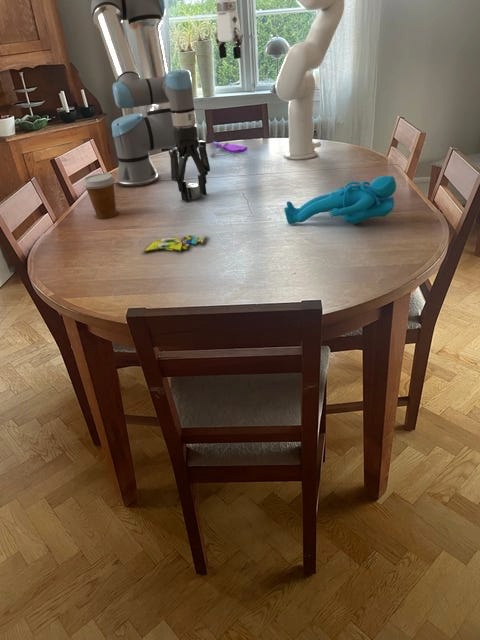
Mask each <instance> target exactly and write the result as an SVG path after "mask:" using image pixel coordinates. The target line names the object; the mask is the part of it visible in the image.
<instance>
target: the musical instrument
mask: <svg viewBox="0 0 480 640" xmlns="http://www.w3.org/2000/svg"><path fill="white" fill-rule="evenodd" d="M211 143H212V145H214V146H217V147H219V148H217V149H216V150H214V151H213V152H212V153H211V156H210V157H225V156H228V155H232V154H234V153H235V154H236V153H244V152H246V151H247V150H248V146H244V145H239V144H233V143H229V142H226V143H224V144H221V143H220V142H218V141H212V142H211ZM221 149H224V150H226V151H227V152H229V153H226V154H220V155H219V154H218V155H214V154H215V153H216V152H217V151H219V150H221Z"/></svg>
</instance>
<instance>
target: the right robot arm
mask: <svg viewBox="0 0 480 640" xmlns="http://www.w3.org/2000/svg"><path fill="white" fill-rule="evenodd" d="M236 1H237V0H215V2H216V4H215V5H216V33H215V34H214V38H215V41H216V44H217V48H218V54H219V56H218V57H219V59H225V58H227V57H228V56H227V46H226V43H232V45H233V47H232V53H233V59H234V60H236V59H237V60H238V59H241V58H242V54H241V53H242V52H241V47H242V42H243V38H244V34H243V32H242V31H241V23H240V18H239V14H238V11H237V2H236ZM295 2H296V3H297V4H298V5H299V6H300V7H301V8H302V9H304V10H305V11H319V12H318V14H317V15H316V17H315V19H314V20H313V22H312V24H311V26H310V28H309V31H308V33H307V35H306V38H305V39H304V40H303V41H299V42H296V43H295V44H293V45H292V46H291V47H290V48H289V49H288V51H287V53H286V55H285V58H284V60H283V62H282V65H281V68H280V71H279V74H278V76H277V79H276V83H275V93H276V95H277V97H278V98H279V99H280V100H281V101H284V102H288V108H287V109H288V110H287V114H288V116H287V118H288V119H287V120H288V151H286V152H285V155H284V156H285V158H286V159H289V160H307V159H308V160H309V159H311V158H314V157H316V156H317V151H316V148H320V147H321V146H322V143H321V142H320V141H317V142H314V141H313V134H314V133H313V128H314V127H313V125H314V124H313V120H314V117H313V115H314V111H313V110H314V98H315V97H314V96H315V89H316V79H315V76H314V75H313V73H312V72H311V71H312V70H315V69H318V68H319V67H320V66H321V65H322V63H323V60H324V59H325V57H326V55H327V52H328V49H329V48H330V46H331V42H332V41H333V37H334V36H335V34H336V31H337V29H338V27H339V24H340V22H341V20H342V17H343V14H344V10H345V0H295Z"/></svg>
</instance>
